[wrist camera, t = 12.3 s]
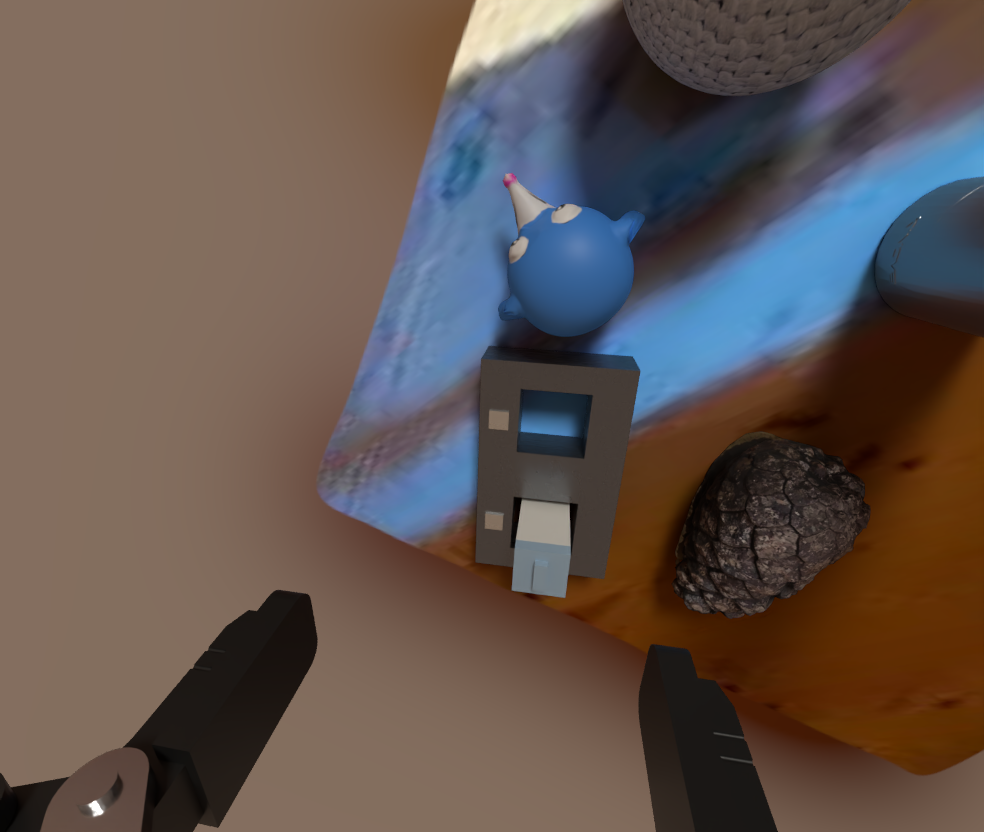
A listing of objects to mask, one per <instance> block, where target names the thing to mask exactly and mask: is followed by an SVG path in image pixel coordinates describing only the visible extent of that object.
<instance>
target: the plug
mask: <svg viewBox="0 0 984 832" xmlns="http://www.w3.org/2000/svg"><path fill="white" fill-rule="evenodd" d="M570 557H571V545H570V504H569V503H566V502H557V501H548V500H539V499H530V498H522V502H521V509H520V516H519V523H518V530H517V536H516V543H515V552H514V566H513V580H512V591H520V592H527V593H534V594H542V595H549V596H556V597H564V598H565V594H566V587H567V579H568V572H569V564H570Z"/></svg>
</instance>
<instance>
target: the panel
mask: <svg viewBox="0 0 984 832" xmlns="http://www.w3.org/2000/svg"><path fill="white" fill-rule="evenodd" d="M639 376H640V369H639V367H638V366H637V364H636V362H635V360H634V358H633V357H632V356H618V355H605V354H591V353H577V352H563V351H550V350H536V349H522V348H509V347H495V346H489V347H488V349H487V350H486V352H485V354H484V355H483V357H482V359H481V387H480V422H479V458H478V493H477V528H476V562H477V563H485V564H493V565H500V566H508V567H513V566H514V552H515V543H516V536H517V530H518V523H519V522H514V521H515V506H516V497H521V498H530V499H539V500H548V501H557V502H566V503H574V507H573V515H572V522H571V528H570V545H571V557H570V564H569V572H568V574H570V575H577V576H585V577H593V578H600V579H604V576H605V570H606V565H607V559H608V553H609V547H610V542H611V536H612V530H613V525H614V519H615V513H616V507H617V502H618V496H619V490H620V485H621V479H622V473H623V467H624V462H625V456H626V450H627V445H628V439H629V433H630V427H631V422H632V416H633V410H634V405H635V399H636V393H637V387H638V382H639ZM523 389H527V390H539V391H551V392H563V393H575V394H587V395H588V399H587V407H586V414H585V422H584V430H583V438H580V437H569V436H559V435H548V434H537V433H527V432H521V419H522V404H523Z"/></svg>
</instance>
